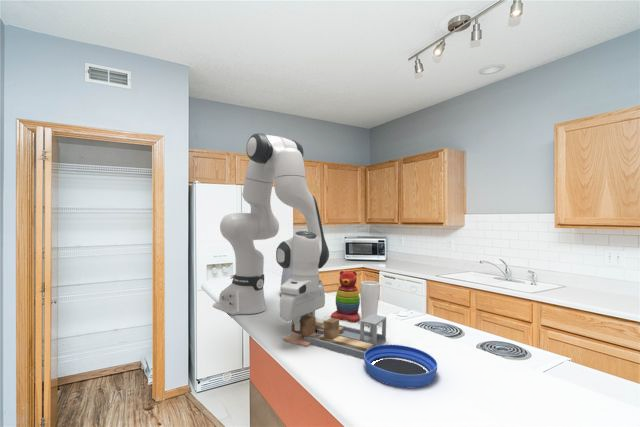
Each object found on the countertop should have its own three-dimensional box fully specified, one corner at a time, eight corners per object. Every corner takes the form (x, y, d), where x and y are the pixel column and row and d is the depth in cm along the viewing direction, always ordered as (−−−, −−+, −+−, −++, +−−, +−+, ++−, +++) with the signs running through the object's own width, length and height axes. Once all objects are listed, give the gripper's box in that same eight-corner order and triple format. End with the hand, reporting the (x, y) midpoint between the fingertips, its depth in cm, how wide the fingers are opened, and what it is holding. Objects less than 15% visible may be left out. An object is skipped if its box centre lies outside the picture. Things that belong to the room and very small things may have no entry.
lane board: (304, 342, 100) (304, 317, 100) (330, 328, 114) (331, 306, 114) (364, 359, 90) (365, 331, 90) (385, 341, 103) (386, 316, 104)
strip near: (319, 340, 100) (319, 319, 100) (326, 336, 104) (326, 316, 104) (367, 353, 92) (368, 330, 92) (373, 348, 95) (374, 327, 95)
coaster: (282, 340, 102) (282, 338, 102) (299, 331, 110) (299, 330, 110) (306, 346, 97) (306, 344, 97) (322, 337, 105) (322, 335, 105)
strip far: (297, 324, 114) (298, 306, 114) (304, 321, 117) (304, 304, 117) (338, 334, 105) (338, 315, 105) (343, 331, 109) (344, 312, 109)
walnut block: (291, 331, 103) (291, 317, 103) (299, 327, 107) (300, 314, 107) (307, 336, 100) (307, 321, 100) (315, 331, 104) (315, 317, 104)
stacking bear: (329, 319, 124) (330, 271, 124) (337, 312, 133) (339, 268, 133) (356, 323, 120) (358, 274, 120) (363, 315, 129) (365, 270, 129)
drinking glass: (378, 327, 116) (379, 285, 116) (358, 326, 117) (359, 283, 117) (378, 321, 122) (379, 281, 122) (360, 320, 124) (361, 280, 124)
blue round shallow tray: (426, 399, 71) (426, 382, 72) (351, 375, 81) (352, 361, 81) (444, 367, 87) (444, 354, 87) (379, 351, 96) (379, 339, 96)
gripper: (314, 277, 114) (313, 317, 114) (276, 287, 97) (275, 334, 97) (330, 279, 111) (329, 320, 111) (294, 290, 93) (292, 339, 93)
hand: (303, 327), depth 103 cm, fingers closed on walnut block, 4 cm apart
